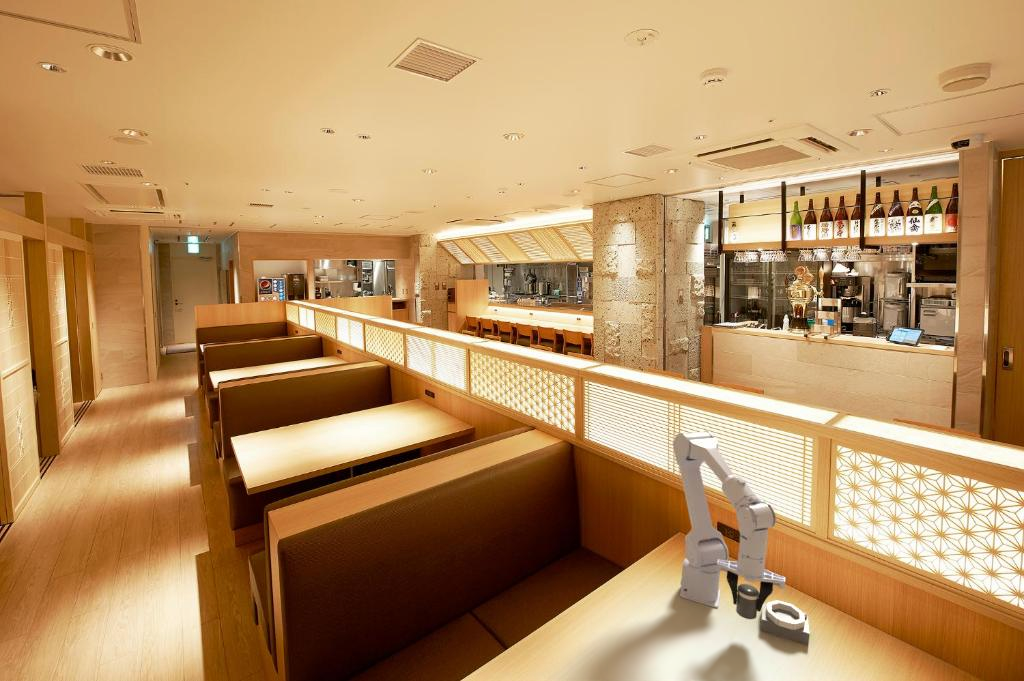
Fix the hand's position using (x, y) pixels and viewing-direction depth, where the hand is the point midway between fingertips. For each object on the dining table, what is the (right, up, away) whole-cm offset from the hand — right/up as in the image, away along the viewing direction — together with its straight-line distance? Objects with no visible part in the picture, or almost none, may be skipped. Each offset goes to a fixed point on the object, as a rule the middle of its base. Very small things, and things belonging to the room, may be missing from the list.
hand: (746, 605), depth 118 cm
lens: (0, -2, 0) cm, 2 cm away
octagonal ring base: (+11, -7, +3) cm, 13 cm away
